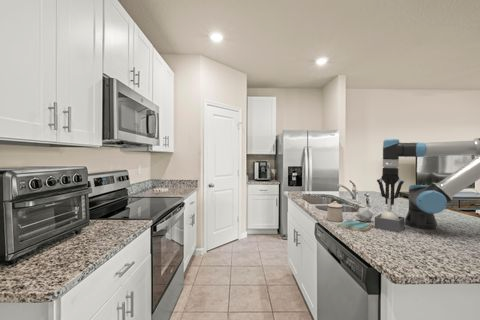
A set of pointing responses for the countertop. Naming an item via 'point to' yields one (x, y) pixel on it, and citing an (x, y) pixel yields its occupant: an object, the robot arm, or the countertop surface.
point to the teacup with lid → (334, 212)
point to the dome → (390, 215)
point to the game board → (355, 225)
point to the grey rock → (364, 214)
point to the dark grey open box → (389, 224)
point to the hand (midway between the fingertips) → (389, 210)
